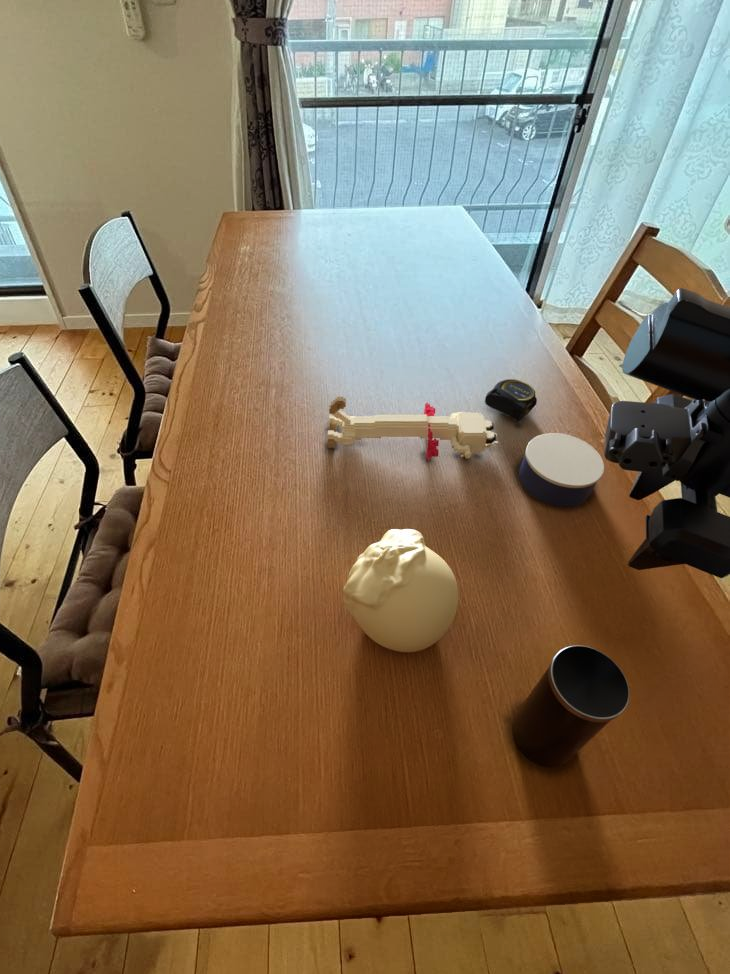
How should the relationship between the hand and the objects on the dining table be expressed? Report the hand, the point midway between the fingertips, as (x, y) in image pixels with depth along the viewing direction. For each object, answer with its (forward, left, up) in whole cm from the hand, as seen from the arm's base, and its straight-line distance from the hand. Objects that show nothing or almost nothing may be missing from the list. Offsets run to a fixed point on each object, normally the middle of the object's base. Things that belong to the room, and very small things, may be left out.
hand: (633, 530), depth 54 cm
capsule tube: (0, +16, -15) cm, 22 cm away
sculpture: (+18, +11, -15) cm, 26 cm away
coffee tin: (+7, -20, -15) cm, 26 cm away
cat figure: (+28, -17, -15) cm, 36 cm away
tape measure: (+17, -32, -15) cm, 39 cm away
